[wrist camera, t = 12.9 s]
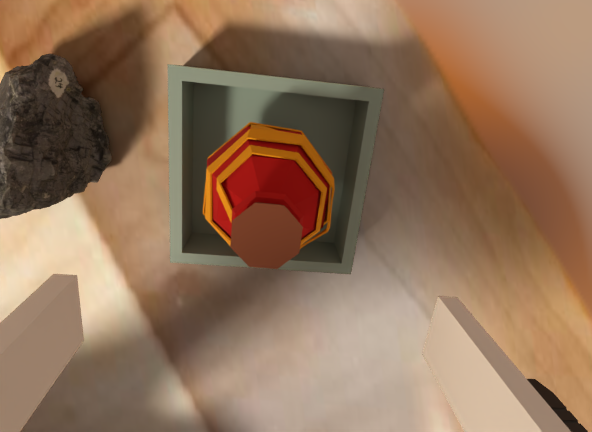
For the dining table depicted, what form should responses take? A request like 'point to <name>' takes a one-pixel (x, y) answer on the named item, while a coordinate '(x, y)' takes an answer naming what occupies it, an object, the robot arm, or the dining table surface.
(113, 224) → the dining table surface
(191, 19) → the dining table surface
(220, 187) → the potion bottle
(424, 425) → the dining table surface
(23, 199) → the rock
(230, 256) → the bin
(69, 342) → the robot arm
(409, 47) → the dining table surface
